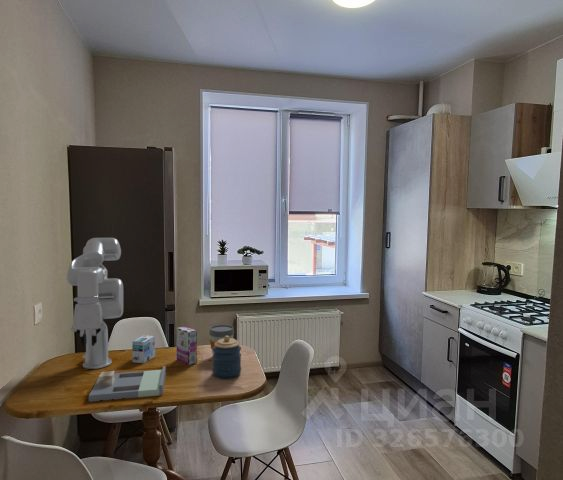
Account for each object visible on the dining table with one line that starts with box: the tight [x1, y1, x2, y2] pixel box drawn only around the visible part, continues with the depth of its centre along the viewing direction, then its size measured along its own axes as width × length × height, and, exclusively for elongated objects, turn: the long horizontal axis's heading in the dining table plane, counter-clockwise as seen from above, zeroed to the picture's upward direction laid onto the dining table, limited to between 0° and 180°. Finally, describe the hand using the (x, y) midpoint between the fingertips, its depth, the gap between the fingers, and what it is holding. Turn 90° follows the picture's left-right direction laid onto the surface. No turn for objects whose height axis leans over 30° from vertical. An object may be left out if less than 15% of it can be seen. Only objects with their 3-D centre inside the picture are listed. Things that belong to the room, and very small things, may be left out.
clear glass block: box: [98, 370, 115, 386], centre depth 159 cm, size 5×5×4 cm
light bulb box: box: [131, 334, 156, 364], centre depth 193 cm, size 11×7×11 cm, turn 168°
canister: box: [211, 336, 242, 380], centre depth 176 cm, size 13×13×18 cm
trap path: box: [88, 365, 167, 402], centre depth 162 cm, size 27×20×4 cm
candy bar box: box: [176, 326, 198, 366], centre depth 191 cm, size 11×5×16 cm, turn 47°
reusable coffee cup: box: [208, 324, 235, 355], centre depth 197 cm, size 13×13×15 cm
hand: (89, 344), depth 157 cm, fingers open, 2 cm apart
